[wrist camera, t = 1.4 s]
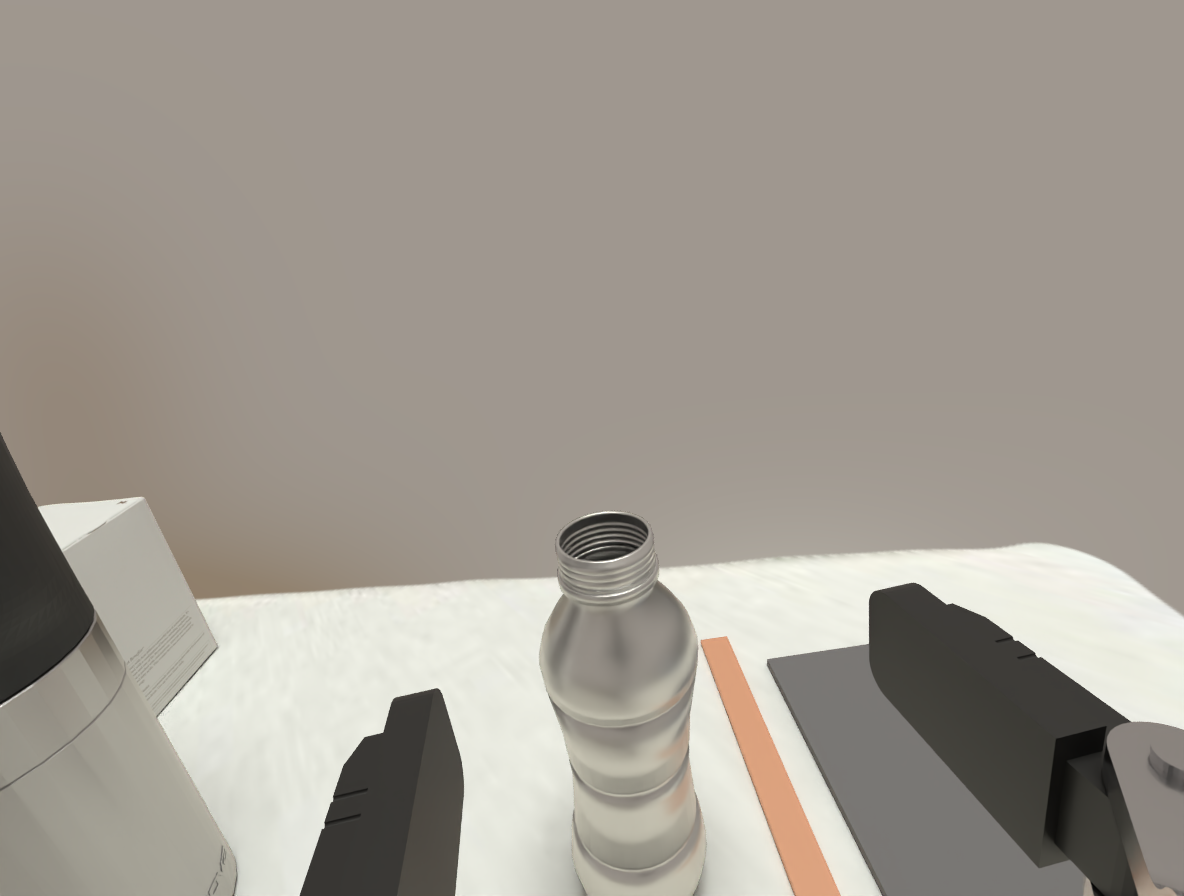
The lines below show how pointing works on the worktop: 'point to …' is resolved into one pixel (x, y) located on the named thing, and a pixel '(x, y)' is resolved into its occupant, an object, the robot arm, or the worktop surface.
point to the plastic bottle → (624, 710)
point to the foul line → (769, 777)
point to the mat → (903, 790)
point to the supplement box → (135, 590)
